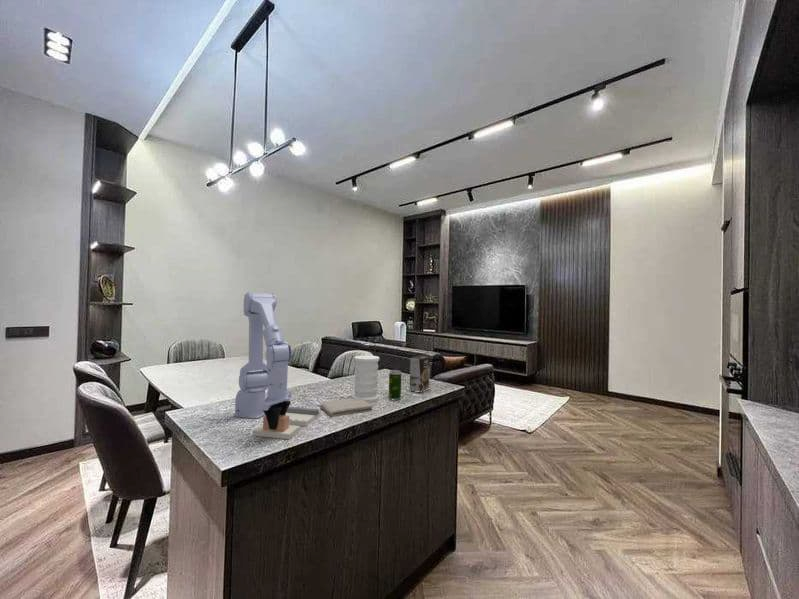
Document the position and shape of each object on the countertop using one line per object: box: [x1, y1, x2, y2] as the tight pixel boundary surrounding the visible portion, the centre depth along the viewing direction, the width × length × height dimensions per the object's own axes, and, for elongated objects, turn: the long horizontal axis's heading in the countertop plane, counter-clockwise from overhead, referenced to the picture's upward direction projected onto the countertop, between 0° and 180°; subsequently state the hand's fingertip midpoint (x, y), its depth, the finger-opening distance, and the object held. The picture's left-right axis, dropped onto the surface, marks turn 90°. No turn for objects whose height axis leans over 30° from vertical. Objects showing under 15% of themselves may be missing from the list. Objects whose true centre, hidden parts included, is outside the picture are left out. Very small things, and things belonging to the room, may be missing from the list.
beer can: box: [388, 369, 402, 401], centre depth 149 cm, size 5×5×12 cm
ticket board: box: [285, 406, 322, 427], centre depth 120 cm, size 13×12×3 cm
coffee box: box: [408, 355, 431, 392], centre depth 165 cm, size 9×6×16 cm
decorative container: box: [351, 354, 380, 403], centre depth 148 cm, size 12×12×18 cm
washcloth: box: [319, 397, 373, 417], centre depth 132 cm, size 12×18×3 cm, turn 122°
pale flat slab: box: [252, 415, 301, 440], centre depth 106 cm, size 12×7×5 cm, turn 80°
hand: (276, 426), depth 106 cm, fingers closed on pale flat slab, 3 cm apart
